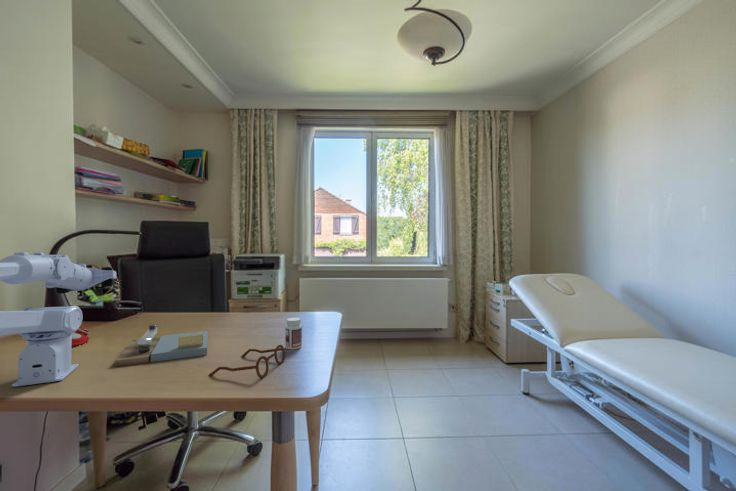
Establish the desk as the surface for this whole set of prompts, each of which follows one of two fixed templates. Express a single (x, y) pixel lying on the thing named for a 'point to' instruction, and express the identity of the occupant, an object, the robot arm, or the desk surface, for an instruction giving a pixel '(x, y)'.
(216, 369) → the glasses
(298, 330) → the pill bottle
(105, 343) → the desk surface
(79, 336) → the tracker holder
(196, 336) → the brass keeper
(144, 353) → the jamb board
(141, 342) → the bar
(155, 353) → the door panel
